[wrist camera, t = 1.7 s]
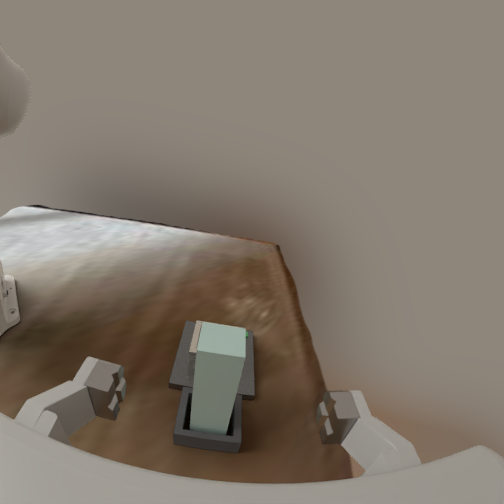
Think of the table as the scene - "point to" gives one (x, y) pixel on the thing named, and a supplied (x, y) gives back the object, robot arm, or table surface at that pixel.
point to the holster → (207, 439)
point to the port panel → (187, 358)
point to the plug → (216, 377)
